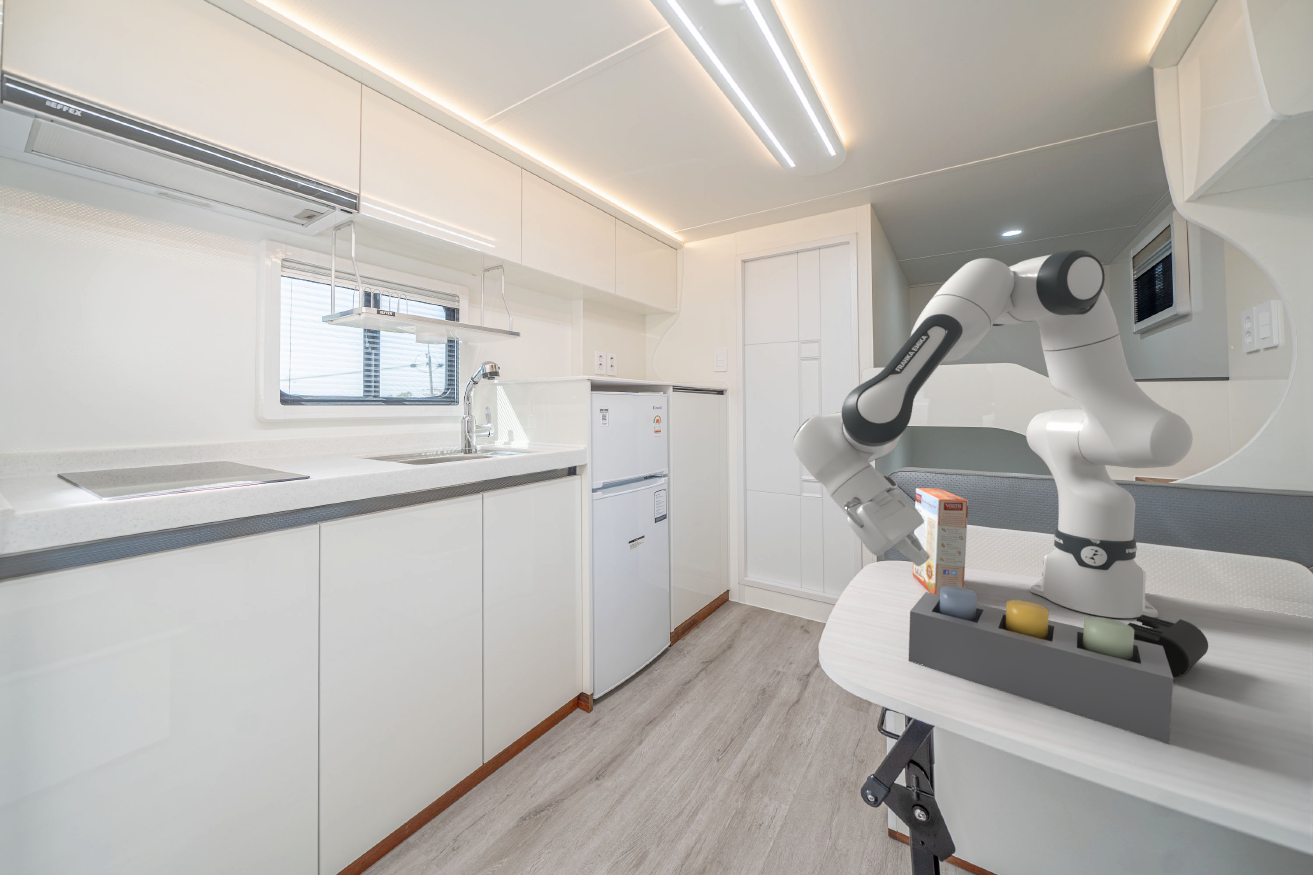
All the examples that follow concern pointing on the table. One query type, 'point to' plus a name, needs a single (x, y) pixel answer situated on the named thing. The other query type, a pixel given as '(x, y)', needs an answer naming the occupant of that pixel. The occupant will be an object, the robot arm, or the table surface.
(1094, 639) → the sage button
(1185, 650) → the end cap
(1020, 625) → the amber button
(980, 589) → the table surface
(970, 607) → the slate button
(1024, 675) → the button console
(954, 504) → the cracker box
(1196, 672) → the table surface
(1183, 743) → the table surface
